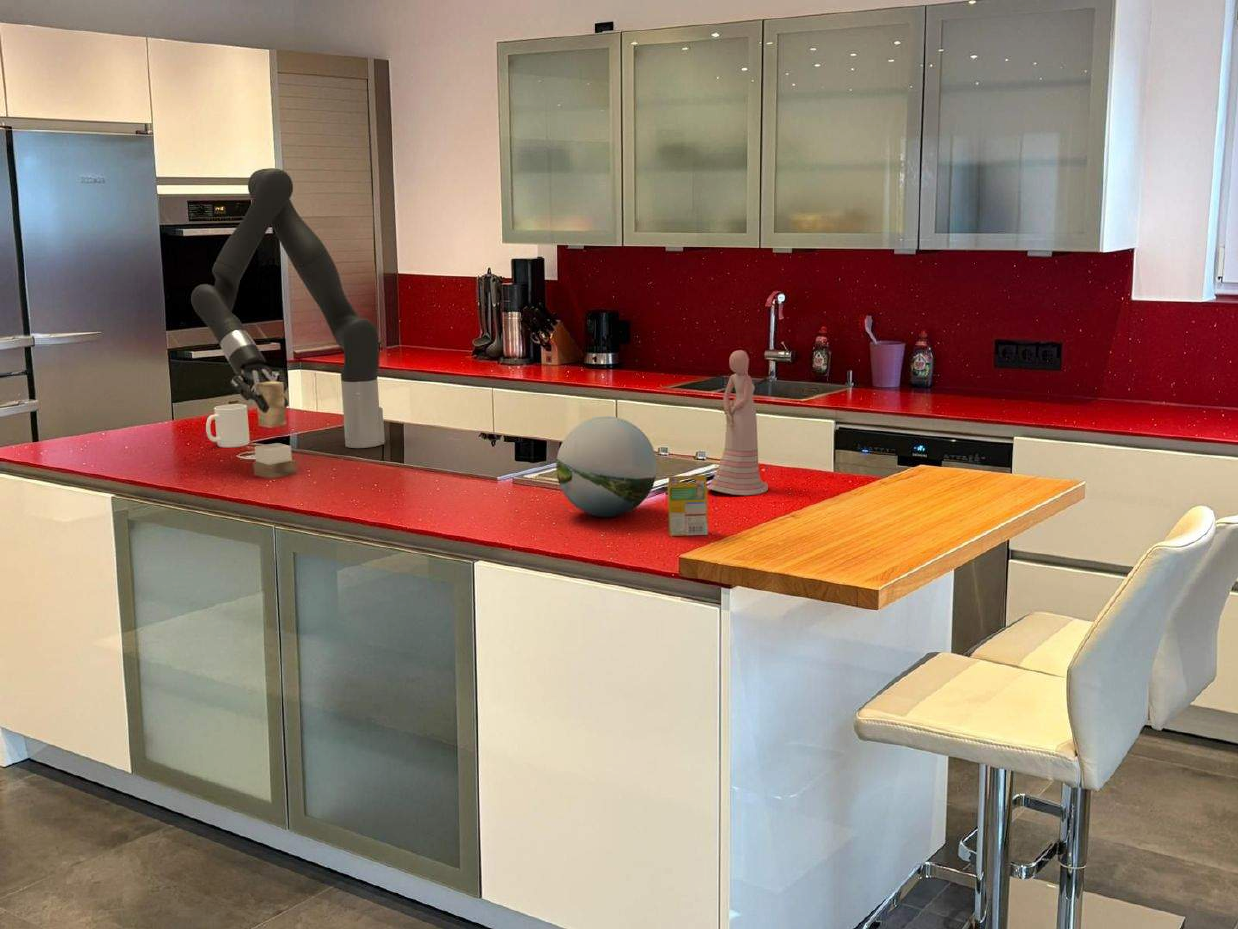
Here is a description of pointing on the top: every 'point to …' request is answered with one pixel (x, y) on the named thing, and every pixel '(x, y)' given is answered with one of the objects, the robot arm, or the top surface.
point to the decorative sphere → (606, 466)
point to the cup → (229, 426)
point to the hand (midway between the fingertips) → (276, 408)
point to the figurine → (739, 436)
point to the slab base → (275, 469)
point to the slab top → (273, 453)
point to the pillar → (272, 404)
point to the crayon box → (687, 506)
